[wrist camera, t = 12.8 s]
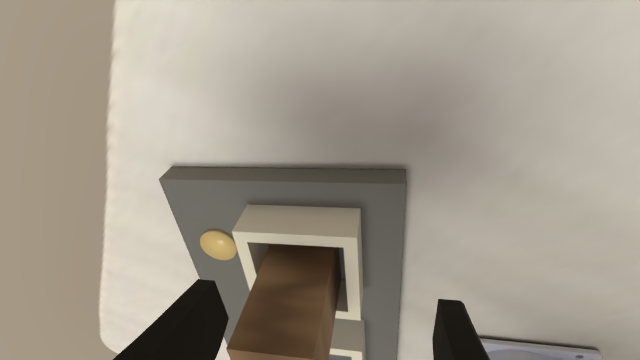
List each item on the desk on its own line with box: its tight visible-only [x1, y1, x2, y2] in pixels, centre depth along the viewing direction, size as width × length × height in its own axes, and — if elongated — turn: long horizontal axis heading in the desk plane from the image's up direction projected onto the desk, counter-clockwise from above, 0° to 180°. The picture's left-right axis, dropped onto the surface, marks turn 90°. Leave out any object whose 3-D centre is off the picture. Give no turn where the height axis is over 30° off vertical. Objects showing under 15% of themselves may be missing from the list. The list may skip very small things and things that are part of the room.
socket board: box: [159, 167, 406, 360], centre depth 25 cm, size 15×21×4 cm
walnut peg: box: [226, 243, 341, 360], centre depth 19 cm, size 4×4×8 cm
